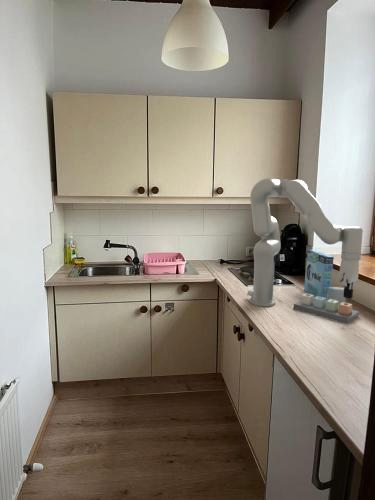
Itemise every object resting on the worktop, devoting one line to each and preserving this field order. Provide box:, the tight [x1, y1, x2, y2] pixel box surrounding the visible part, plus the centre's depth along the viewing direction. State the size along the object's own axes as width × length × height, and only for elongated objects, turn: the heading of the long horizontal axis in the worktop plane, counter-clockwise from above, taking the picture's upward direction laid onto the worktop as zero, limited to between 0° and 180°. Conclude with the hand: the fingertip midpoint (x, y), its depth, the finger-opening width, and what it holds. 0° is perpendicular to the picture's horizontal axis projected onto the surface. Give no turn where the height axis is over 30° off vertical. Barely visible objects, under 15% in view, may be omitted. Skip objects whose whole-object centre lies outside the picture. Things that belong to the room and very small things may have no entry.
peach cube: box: [339, 301, 353, 315], centre depth 149 cm, size 4×4×4 cm
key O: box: [301, 292, 315, 305], centre depth 161 cm, size 4×4×4 cm
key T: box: [313, 296, 326, 308], centre depth 157 cm, size 4×4×4 cm
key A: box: [326, 299, 339, 312], centre depth 153 cm, size 4×4×4 cm
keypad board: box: [292, 299, 360, 325], centre depth 156 cm, size 25×12×2 cm, turn 44°
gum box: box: [303, 249, 335, 301], centre depth 179 cm, size 20×5×23 cm, turn 6°
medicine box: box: [327, 286, 347, 304], centre depth 165 cm, size 8×4×9 cm, turn 74°
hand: (347, 297), depth 148 cm, fingers closed
